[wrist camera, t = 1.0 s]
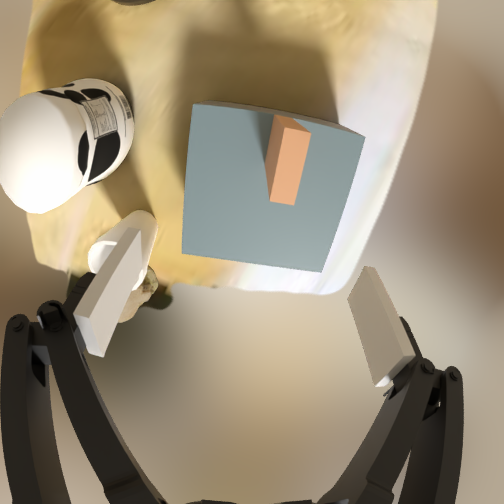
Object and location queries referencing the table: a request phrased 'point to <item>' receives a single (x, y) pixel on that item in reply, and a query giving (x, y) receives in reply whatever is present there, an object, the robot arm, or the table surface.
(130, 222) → the foam cup
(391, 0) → the table surface
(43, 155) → the milk container
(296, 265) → the lid flap
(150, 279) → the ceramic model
